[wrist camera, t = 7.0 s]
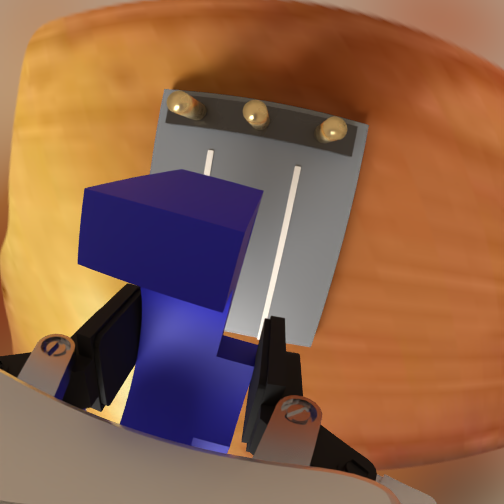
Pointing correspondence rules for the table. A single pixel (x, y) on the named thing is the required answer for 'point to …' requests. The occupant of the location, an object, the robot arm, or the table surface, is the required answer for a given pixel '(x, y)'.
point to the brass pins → (262, 122)
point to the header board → (274, 214)
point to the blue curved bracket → (178, 296)
